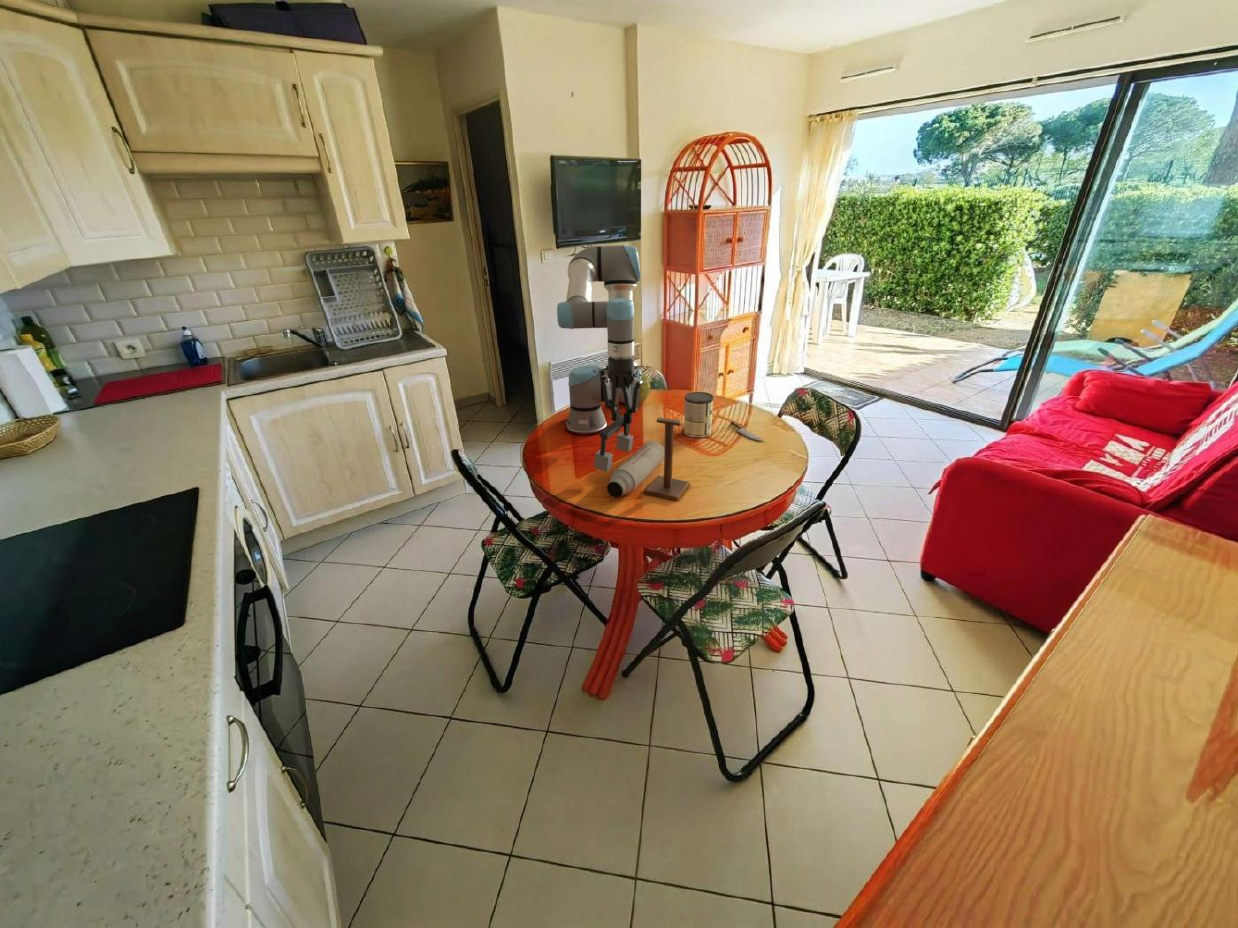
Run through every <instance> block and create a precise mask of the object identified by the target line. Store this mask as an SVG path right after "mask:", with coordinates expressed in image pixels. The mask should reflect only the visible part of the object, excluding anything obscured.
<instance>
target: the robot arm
mask: <svg viewBox="0 0 1238 928" xmlns="http://www.w3.org/2000/svg"><path fill="white" fill-rule="evenodd" d="M567 278H568V287H567V292H566V300H565V301H561V302H558V304H557V306H556V317H557V325H558V327H559V328H561V329H570V330H575V329H577V330H578V329H606V332H607V356H608V357H607V363H606V364H605V369H604V370H603V369H601V367H600V366H599V365H595V364H587V365H583V366H578V367H576V368H573V369H571V370H570V372H569V373H568V384H567V385H568V389H569V390H568V391H569V408H570V409H569V412H568V416H567V419H564V420H561V421H560V422H559V423H560V424H564V423H566V430H567V431H568V432H570V433H572V434H574V435H581V436H590V435H591V436H592V435H596V434H600V432H601V431H603V430H604V429H605V428H606V427H608V425H607V420H606V417H605V414H604V412H603V409H602V403H604V408H605V409H606V410H608V409H609V410H610V411H611V421H612V422H614V421H616V420H617V419H618V418H619V417H621V409H619V403H622V402H625V403H624V407H625V408H624V409H625V412H624V413H623V414H624V426H623V433H624V434H627V433H628V432H629V433H630V432H631V424H632V423H633V417H632V414H635V413H637V411H638V410H639V408H640V404H639V400H640V391H641V386H642V384H643V380H641V373H642V369H640V368H638V363H637V362H635V357H634V355H635V304H634V303H635V302H634V301H633V300H634V298H633V295H634V294H633V293H634V292H633V291H634V290H635V289H636V288H637V286H638V285H637V284H638V282H640V281H641V279H642V275H641V266H640V257H639V253H638V249H637V248H636V247H635V246H634V245H624V244H622V245H593V246H588V247H586V248H584V249H582V250H580V251H579V252H577V253H576V254H575V255H574V256H573V257H572V258H571V260H570V262H569V263H568V266H567ZM596 282H598V283H600V282H603V288H604V289H605V290H606V291H607V293H608V300H607V301H604V300H603V301H602V300H601V301H592V292H593V291H592V290H593V289H592V288H593V283H596ZM620 430H621V429H619V430H618V431H617V432H616V433H619V431H620ZM616 433H615V434H616Z"/></svg>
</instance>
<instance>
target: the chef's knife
mask: <svg viewBox="0 0 1238 928" xmlns="http://www.w3.org/2000/svg"><path fill="white" fill-rule="evenodd" d="M730 425H731V426H734V427H736V428H737V430H736V432H738V433H740V434H742V435H743V436H745V437H746V438H749V439H750V440H751V439H752V440H754V441H758V442H764V440H762V439H761V438H760V437H759V436H757V435H755V434H754V433H752V432H750V431H748V430H747V429H745V428H743V427H742V426H740V425H739V424H737V423H736V422H734V421H731V422H730Z"/></svg>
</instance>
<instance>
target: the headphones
mask: <svg viewBox="0 0 1238 928" xmlns="http://www.w3.org/2000/svg"><path fill="white" fill-rule="evenodd" d="M633 416H634V413H632V418H633ZM622 428H624V413H623V414H622V415H620V417H619V418H618V419H617V420H616V421H612V423H610V424H609V425H607V427H606V428H605V429H604V430H603V431H601V432H600V433H599V438H600V439H601V440H600V449H599V450H598V451H596V452H595V453H594V462H593V468H595V469H597V470H599V471H603V472H606V473H607V472H609V471H610V470H611V469H612V464H613V455H614V454H613V453H611V452H607V450H606V448H607V440H609V439H610V438H611V437H612V436H613V435H615V434H616V432H617V431H618V430H619V429H620V430H621V429H622ZM620 430H619V431H620ZM619 431H618V432H617V433H618V434H617V435H616V444H615V449H616V450H620V451H623V452H625V453H629V452H631V451H632V450H633V444H634V443H633V442H634V435H632V434H630V432H628V433H627V434H624V432H622V431H621V432H619Z"/></svg>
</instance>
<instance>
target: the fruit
mask: <svg viewBox="0 0 1238 928" xmlns="http://www.w3.org/2000/svg"><path fill="white" fill-rule="evenodd" d="M641 380H643V384H642V386H641V391H640V400H639V405H641V404H643V403H644V402H645V401H646V400H647V399H648V397H649V396H650V394H651V382H650V381H649V377H647V375H646V374H644V373H642V372H641ZM621 403H623V404H625V402H621Z"/></svg>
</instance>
